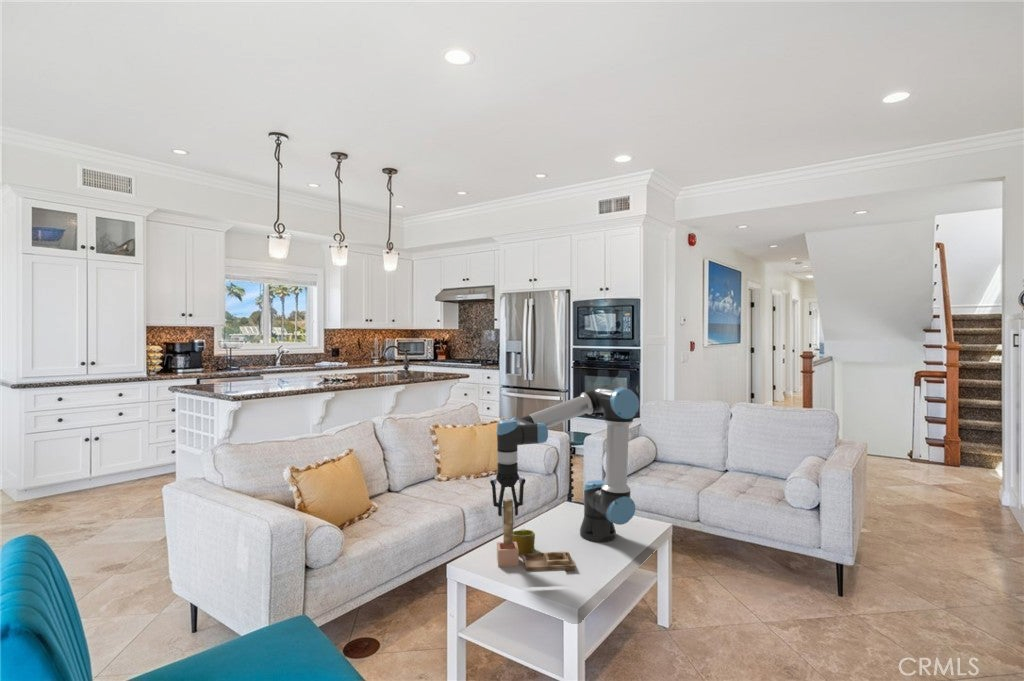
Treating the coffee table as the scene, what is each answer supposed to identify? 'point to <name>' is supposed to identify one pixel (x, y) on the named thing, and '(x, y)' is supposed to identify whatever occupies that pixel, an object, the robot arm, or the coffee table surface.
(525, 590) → the coffee table surface
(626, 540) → the coffee table surface
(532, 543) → the mug
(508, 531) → the dowel
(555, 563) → the tray
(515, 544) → the pink hollow box
